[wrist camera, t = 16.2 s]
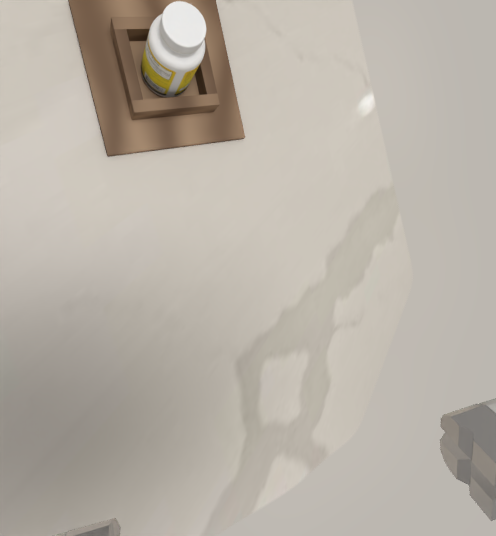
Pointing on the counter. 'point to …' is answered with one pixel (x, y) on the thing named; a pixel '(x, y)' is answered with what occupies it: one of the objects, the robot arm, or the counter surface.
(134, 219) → the counter surface
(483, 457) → the robot arm
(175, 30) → the supplement bottle
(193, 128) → the walnut can holder
